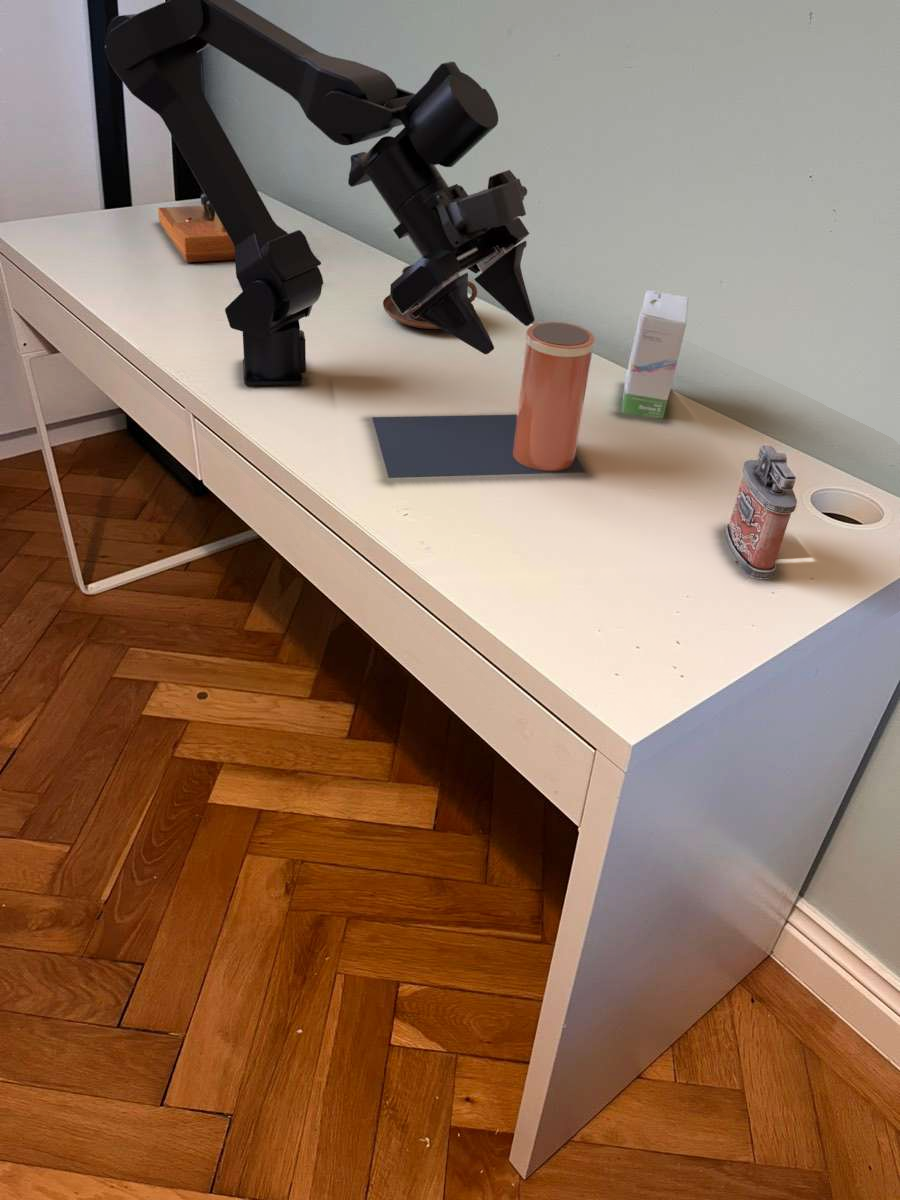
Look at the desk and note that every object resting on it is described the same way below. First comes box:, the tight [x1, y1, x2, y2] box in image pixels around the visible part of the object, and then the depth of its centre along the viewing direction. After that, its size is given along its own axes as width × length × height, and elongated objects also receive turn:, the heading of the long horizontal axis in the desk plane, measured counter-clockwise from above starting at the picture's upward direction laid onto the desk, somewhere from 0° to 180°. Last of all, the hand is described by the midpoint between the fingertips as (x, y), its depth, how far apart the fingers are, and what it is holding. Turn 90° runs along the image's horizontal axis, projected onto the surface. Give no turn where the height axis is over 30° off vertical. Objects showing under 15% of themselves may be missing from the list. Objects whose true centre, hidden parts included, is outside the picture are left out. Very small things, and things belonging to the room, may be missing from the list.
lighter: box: [724, 444, 798, 580], centre depth 87 cm, size 8×3×10 cm, turn 5°
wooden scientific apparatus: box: [157, 193, 235, 263], centre depth 142 cm, size 14×30×18 cm, turn 24°
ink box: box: [621, 290, 689, 419], centre depth 111 cm, size 9×5×12 cm, turn 168°
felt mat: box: [371, 414, 586, 479], centre depth 103 cm, size 20×13×1 cm, turn 101°
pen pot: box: [512, 321, 596, 471], centre depth 98 cm, size 6×6×13 cm
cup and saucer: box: [382, 264, 478, 330], centre depth 129 cm, size 12×12×6 cm
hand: (511, 337), depth 97 cm, fingers open, 9 cm apart
